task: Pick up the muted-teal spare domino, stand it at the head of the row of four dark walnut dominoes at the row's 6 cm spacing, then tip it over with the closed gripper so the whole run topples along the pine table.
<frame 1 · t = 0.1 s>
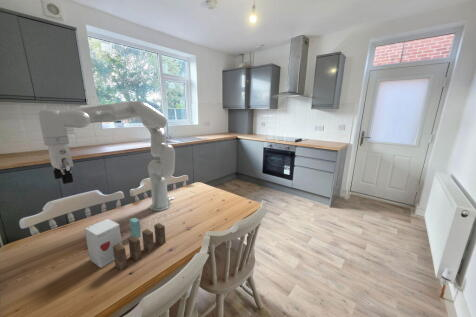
hand: (64, 180, 82), 31 cm above the table, fingers open, 9 cm apart
domino 4: (136, 257, 81), on the table
domino 2: (160, 242, 91), on the table
domino 3: (149, 249, 86), on the table
supplement box: (106, 257, 81), on the table
domino 5: (121, 266, 77), on the table
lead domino: (136, 236, 95), on the table
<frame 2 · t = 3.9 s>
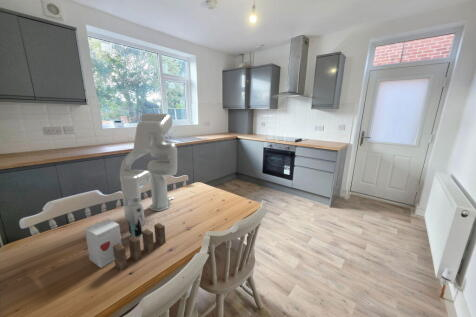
hand: (135, 233, 95), 2 cm above the table, fingers closed on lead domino, 4 cm apart
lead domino: (136, 236, 95), on the table, touching gripper
everything else where it was.
when the fingers open (2 cm above the table, at t = 8.8 s): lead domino stays where it is, on the table.
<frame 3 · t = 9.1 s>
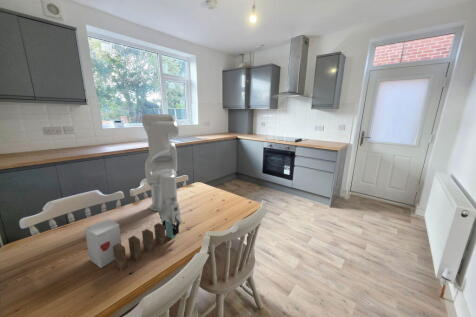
hand: (170, 231, 96), 3 cm above the table, fingers open, 7 cm apart
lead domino: (170, 236, 96), on the table
everything else where it was.
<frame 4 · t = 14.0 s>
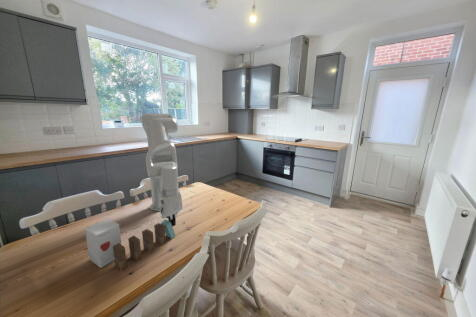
hand: (172, 224, 96), 6 cm above the table, fingers closed
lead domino: (170, 235, 96), on the table, tilted 16°
everything else where it was.
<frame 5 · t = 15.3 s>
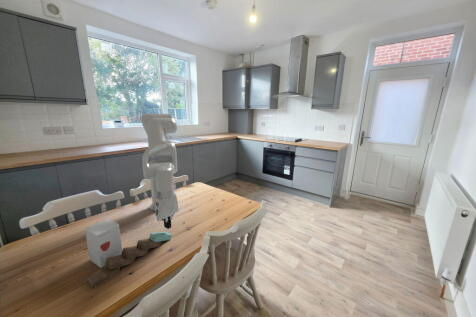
hand: (167, 227, 94), 6 cm above the table, fingers closed
domino 4: (131, 257, 80), point 1 cm above the table, tilted 70°, touching domino 5
domino 2: (157, 241, 90), point 1 cm above the table, tilted 67°, touching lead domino
domino 3: (145, 249, 85), point 1 cm above the table, tilted 66°
domino 5: (116, 267, 75), point 1 cm above the table, tilted 90°, touching domino 4
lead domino: (168, 235, 95), point 1 cm above the table, tilted 66°, touching domino 2
everything else where it was.
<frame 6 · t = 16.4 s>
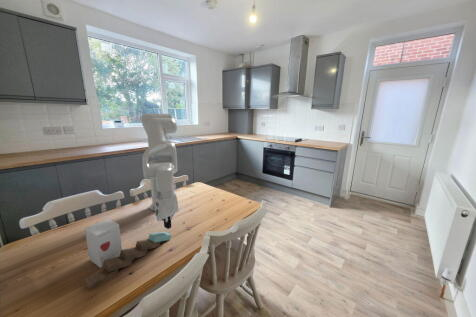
hand: (167, 227, 94), 6 cm above the table, fingers closed
domino 4: (129, 259, 79), point 1 cm above the table, tilted 69°, touching domino 3
domino 2: (156, 242, 90), point 1 cm above the table, tilted 68°, touching domino 3, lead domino
domino 3: (143, 250, 84), point 1 cm above the table, tilted 67°, touching domino 2, domino 4
domino 5: (115, 268, 74), point 1 cm above the table, tilted 90°
everything else where it was.
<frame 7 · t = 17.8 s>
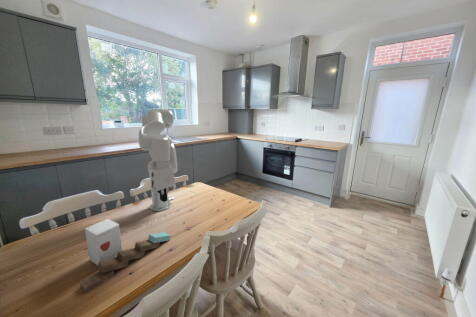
hand: (163, 200, 91), 19 cm above the table, fingers closed
domino 4: (125, 261, 78), point 1 cm above the table, tilted 69°, touching domino 3
domino 2: (156, 242, 89), point 1 cm above the table, tilted 70°, touching domino 3
domino 5: (111, 271, 73), point 1 cm above the table, tilted 90°
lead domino: (167, 236, 94), point 1 cm above the table, tilted 67°
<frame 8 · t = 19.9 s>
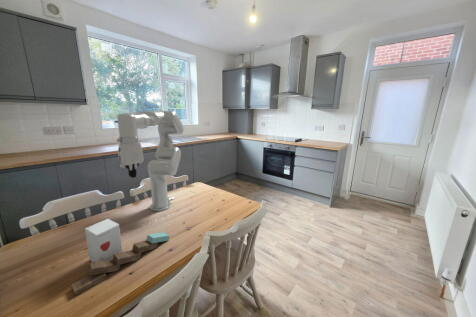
hand: (133, 176, 95), 29 cm above the table, fingers closed
domino 4: (118, 264, 76), point 1 cm above the table, tilted 70°, touching domino 5
domino 3: (138, 254, 82), point 1 cm above the table, tilted 71°, touching domino 2
domino 5: (104, 274, 72), point 1 cm above the table, tilted 90°, touching domino 4
at the end: domino 5 tilted 90°; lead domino tilted 68°; the gripper is holding nothing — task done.
